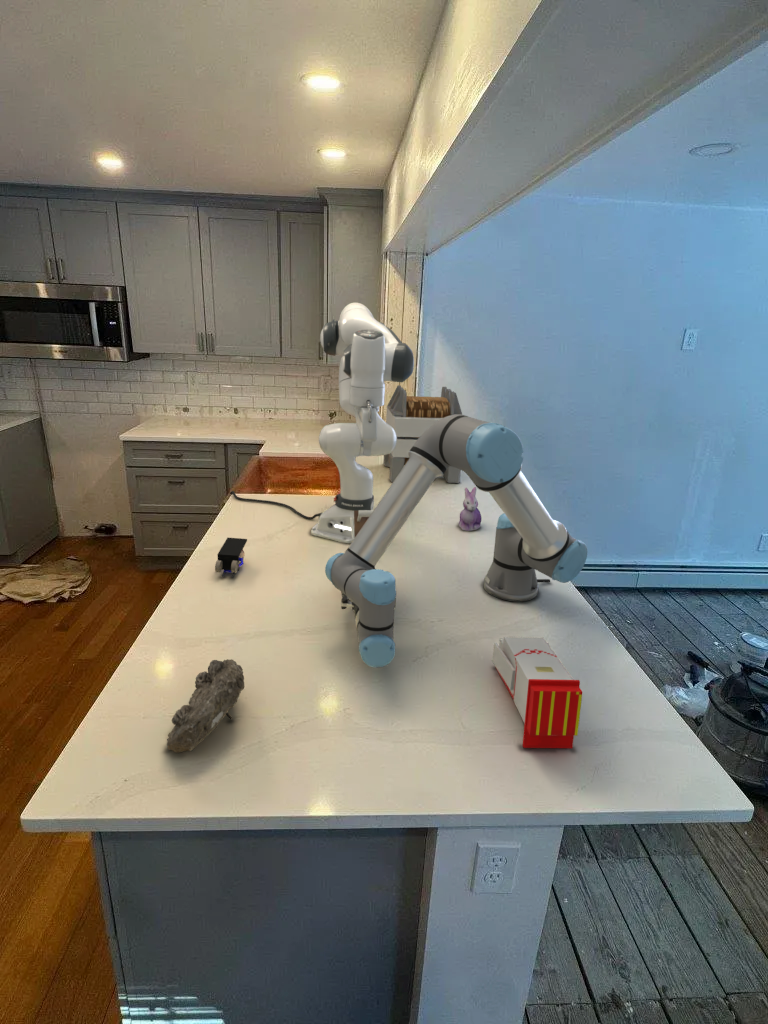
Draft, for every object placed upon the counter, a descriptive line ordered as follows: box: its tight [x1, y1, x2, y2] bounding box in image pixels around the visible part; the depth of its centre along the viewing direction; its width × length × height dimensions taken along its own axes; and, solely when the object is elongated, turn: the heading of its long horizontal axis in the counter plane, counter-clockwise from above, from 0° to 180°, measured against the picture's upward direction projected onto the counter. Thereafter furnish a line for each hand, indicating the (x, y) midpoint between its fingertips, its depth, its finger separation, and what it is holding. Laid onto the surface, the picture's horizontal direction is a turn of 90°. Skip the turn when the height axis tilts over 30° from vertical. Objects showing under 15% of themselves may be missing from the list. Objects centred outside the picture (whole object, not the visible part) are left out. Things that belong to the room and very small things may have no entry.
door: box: [354, 510, 374, 538], centre depth 146 cm, size 15×5×9 cm
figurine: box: [458, 486, 482, 532], centre depth 206 cm, size 9×10×15 cm
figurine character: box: [214, 537, 248, 578], centre depth 166 cm, size 7×8×15 cm
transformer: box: [383, 384, 463, 484], centre depth 268 cm, size 34×33×41 cm
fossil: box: [166, 658, 245, 754], centre depth 106 cm, size 22×10×15 cm
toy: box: [491, 636, 583, 749], centre depth 115 cm, size 12×13×30 cm
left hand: (365, 450), depth 148 cm, fingers open, 8 cm apart
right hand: (363, 573), depth 154 cm, fingers closed on chest, 5 cm apart
